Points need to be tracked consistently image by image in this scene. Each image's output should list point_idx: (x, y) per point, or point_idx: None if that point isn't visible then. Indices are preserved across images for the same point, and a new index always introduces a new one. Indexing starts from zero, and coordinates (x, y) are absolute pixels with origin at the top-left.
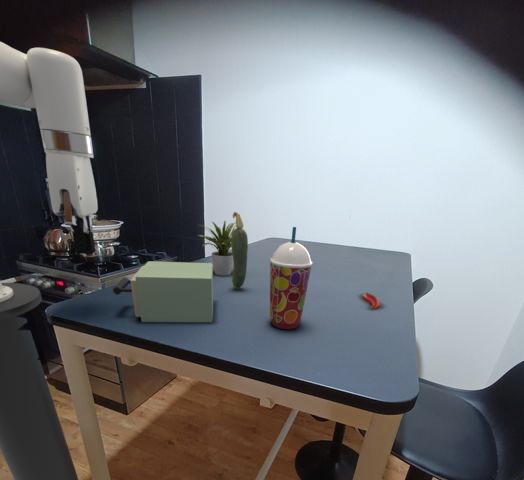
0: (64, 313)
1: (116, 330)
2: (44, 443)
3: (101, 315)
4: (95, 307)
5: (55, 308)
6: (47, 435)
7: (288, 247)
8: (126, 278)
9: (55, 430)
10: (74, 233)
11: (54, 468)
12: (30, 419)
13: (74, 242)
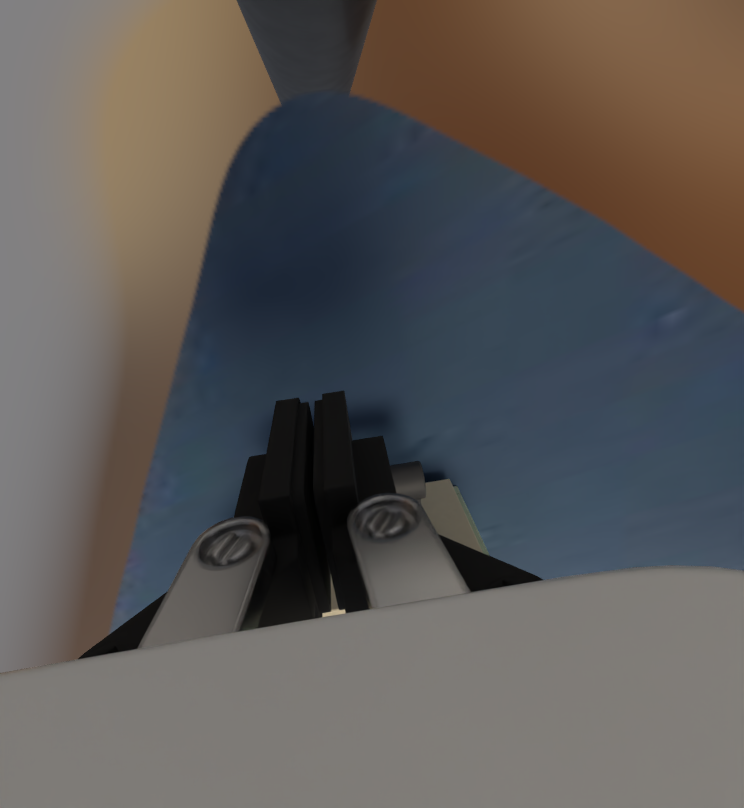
0: (253, 194)
1: (151, 474)
2: (273, 53)
3: (270, 365)
4: (353, 298)
5: (305, 107)
6: (283, 55)
7: None
8: (413, 498)
9: (309, 63)
10: (264, 510)
11: (281, 75)
12: (253, 16)
13: (271, 442)
